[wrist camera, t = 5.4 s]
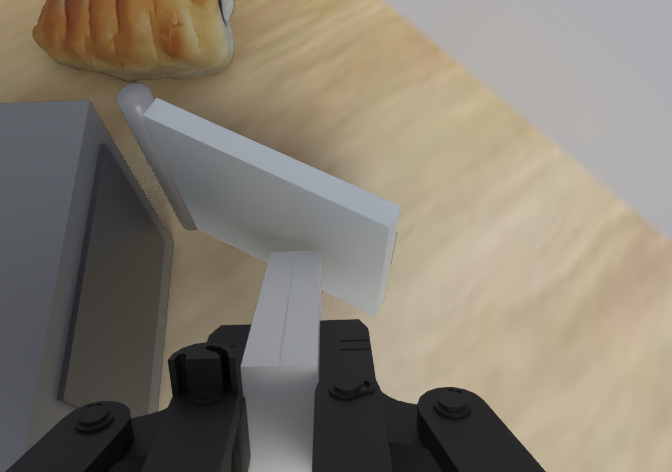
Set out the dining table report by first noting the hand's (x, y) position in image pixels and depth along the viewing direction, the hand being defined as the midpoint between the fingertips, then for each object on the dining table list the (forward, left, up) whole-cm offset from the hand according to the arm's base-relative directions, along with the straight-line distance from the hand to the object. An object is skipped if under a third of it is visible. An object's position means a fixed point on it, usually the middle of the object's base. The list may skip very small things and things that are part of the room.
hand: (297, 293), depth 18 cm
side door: (-1, +3, -4) cm, 5 cm away
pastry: (-7, +16, -5) cm, 18 cm away
